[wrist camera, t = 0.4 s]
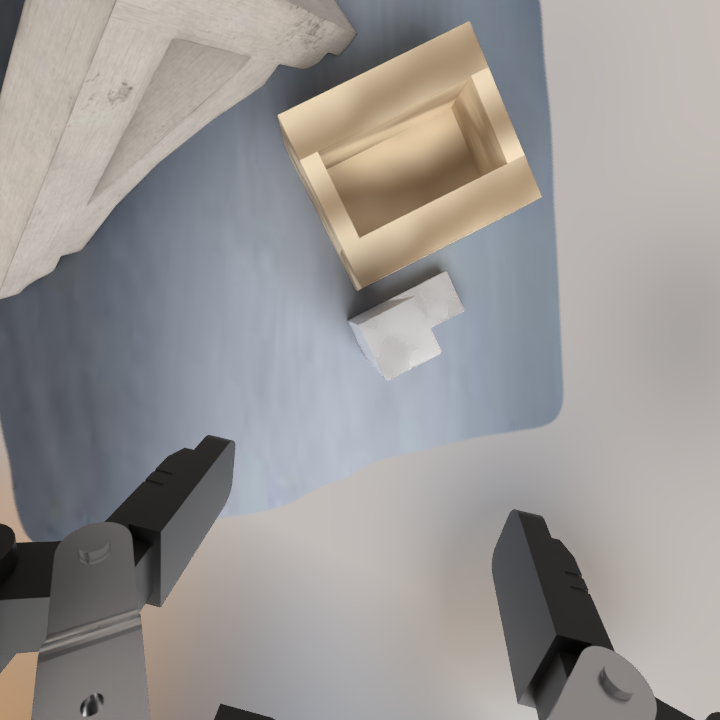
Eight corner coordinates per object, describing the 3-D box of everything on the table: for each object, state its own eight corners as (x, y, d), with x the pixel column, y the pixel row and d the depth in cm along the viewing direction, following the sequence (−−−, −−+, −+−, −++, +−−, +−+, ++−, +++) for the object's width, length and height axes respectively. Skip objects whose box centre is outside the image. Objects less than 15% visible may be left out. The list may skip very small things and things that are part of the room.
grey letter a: (167, 213, 52) (325, -14, 34) (190, 242, 52) (357, 34, 35) (-43, 256, 34) (70, -172, 17) (-4, 300, 34) (144, -68, 17)
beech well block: (284, 147, 37) (277, 115, 31) (446, 67, 37) (469, 20, 31) (356, 291, 39) (362, 287, 33) (508, 214, 39) (541, 197, 33)
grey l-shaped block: (346, 320, 39) (358, 325, 26) (441, 272, 39) (499, 253, 26) (365, 358, 39) (386, 381, 27) (459, 310, 40) (524, 310, 27)
